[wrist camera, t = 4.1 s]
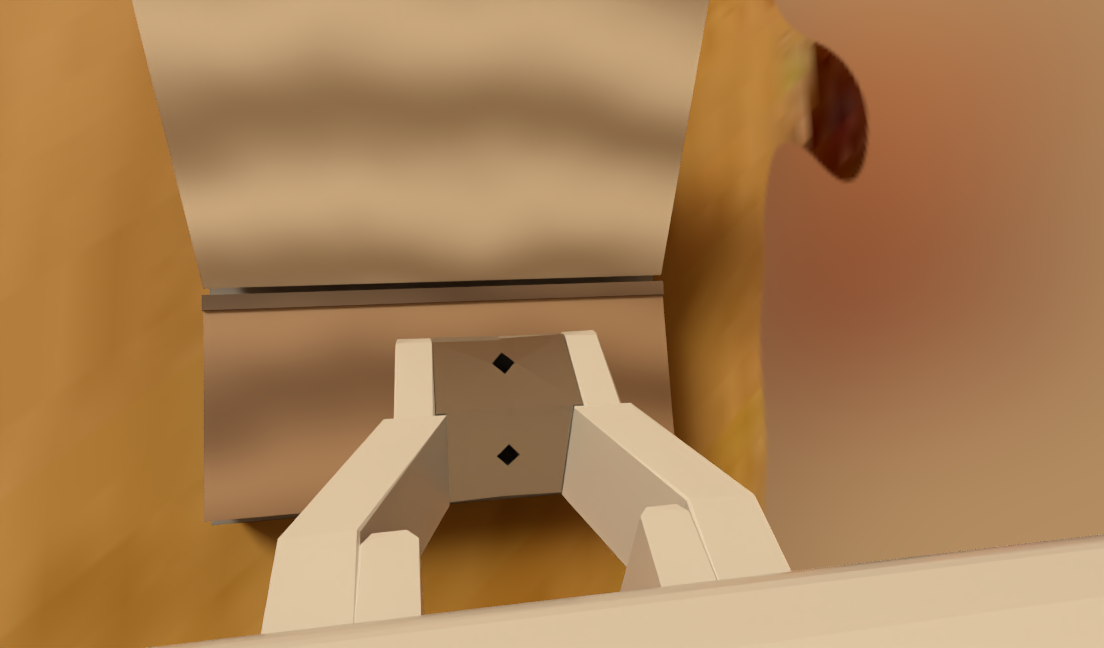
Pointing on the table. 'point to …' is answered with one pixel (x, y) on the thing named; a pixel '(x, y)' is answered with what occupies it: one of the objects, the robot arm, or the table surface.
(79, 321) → the table surface
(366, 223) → the plank
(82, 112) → the table surface
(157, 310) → the table surface
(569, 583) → the table surface
